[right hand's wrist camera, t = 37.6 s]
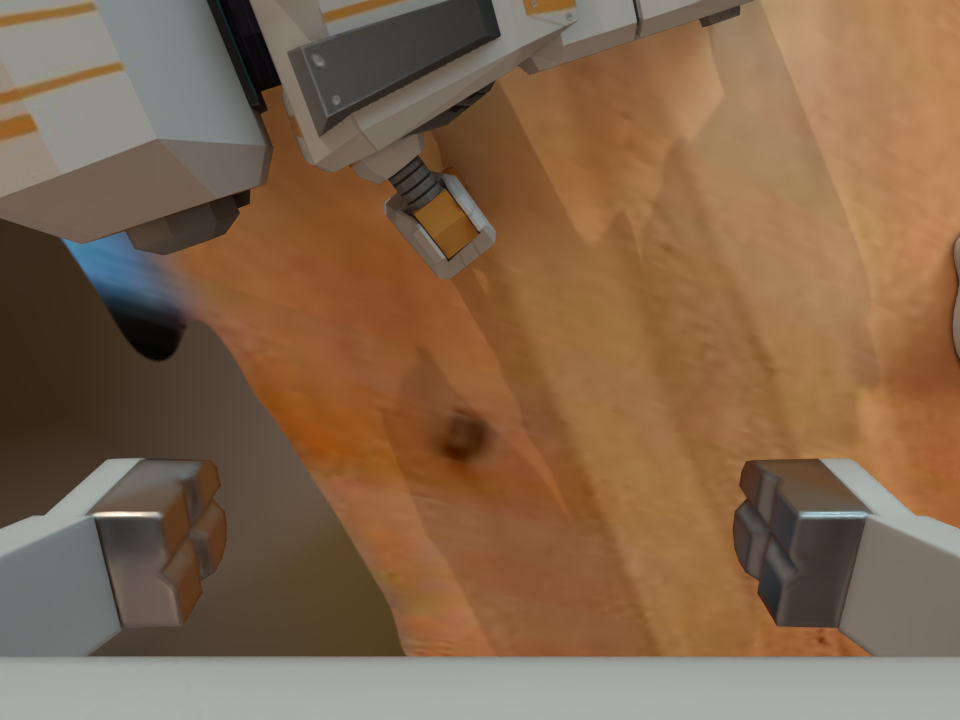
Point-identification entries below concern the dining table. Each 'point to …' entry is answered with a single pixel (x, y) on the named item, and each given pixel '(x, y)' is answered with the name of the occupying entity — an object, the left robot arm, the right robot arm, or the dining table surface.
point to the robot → (238, 104)
